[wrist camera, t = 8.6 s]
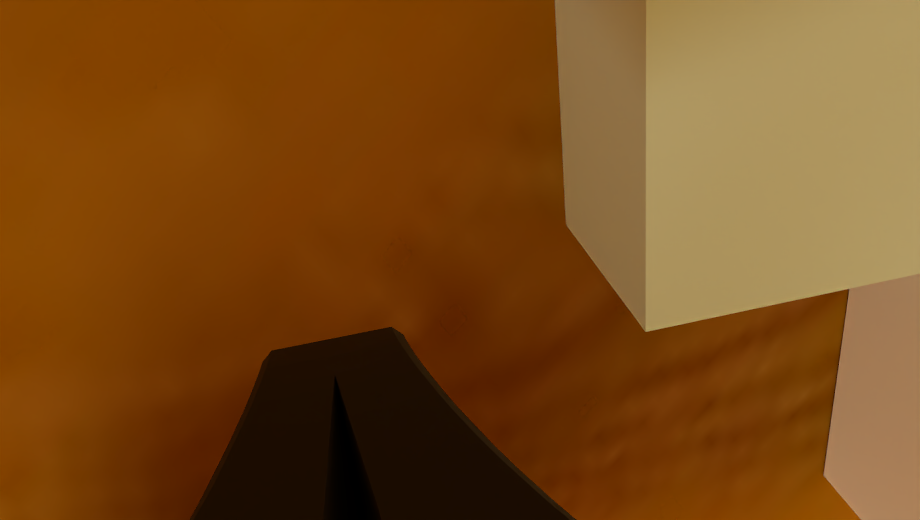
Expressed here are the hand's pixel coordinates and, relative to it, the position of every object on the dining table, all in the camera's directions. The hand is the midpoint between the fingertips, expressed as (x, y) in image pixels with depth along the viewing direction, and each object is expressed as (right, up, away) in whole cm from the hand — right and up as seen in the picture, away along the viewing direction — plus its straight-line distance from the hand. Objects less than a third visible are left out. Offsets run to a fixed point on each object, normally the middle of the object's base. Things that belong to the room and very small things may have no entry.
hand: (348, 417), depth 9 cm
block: (+7, +6, +9) cm, 12 cm away
